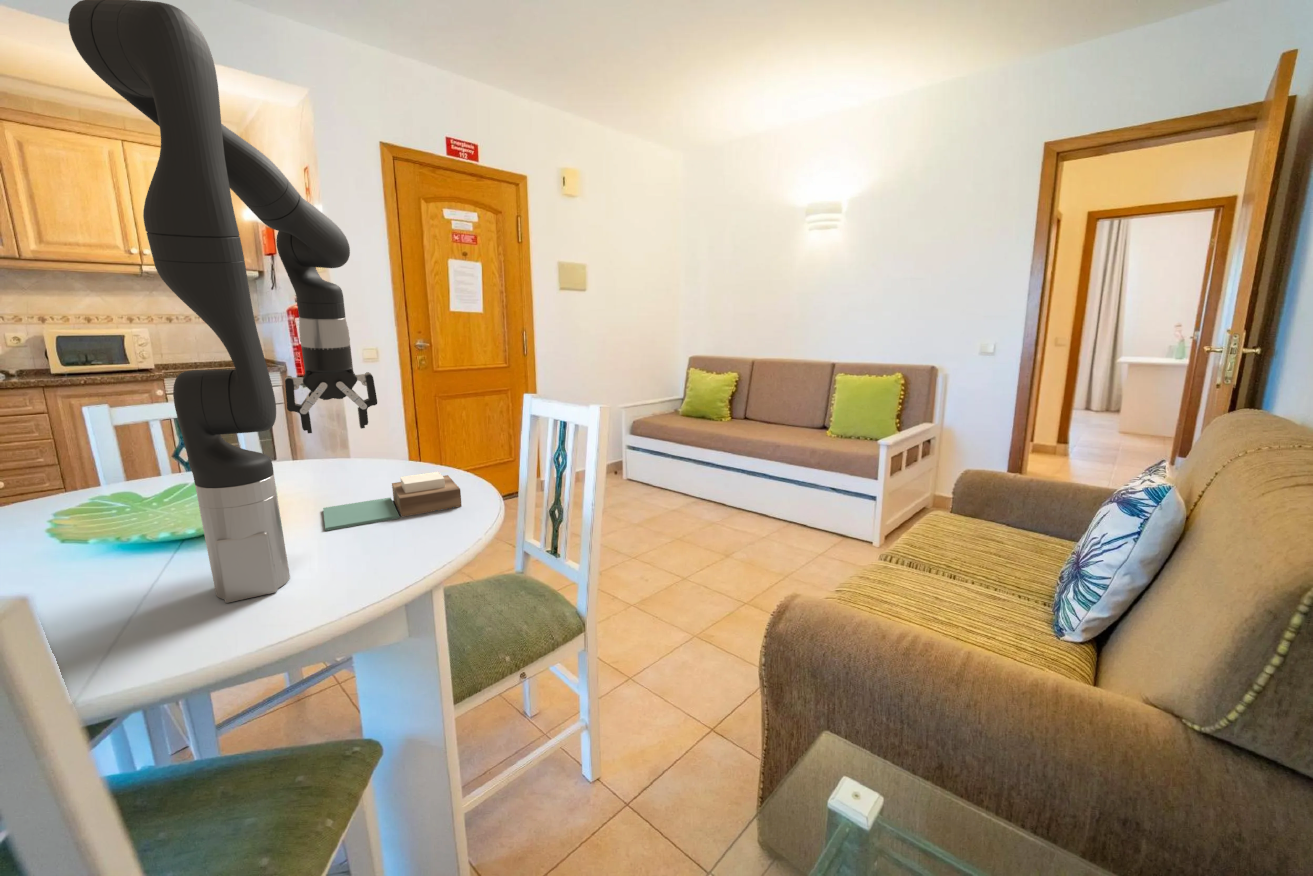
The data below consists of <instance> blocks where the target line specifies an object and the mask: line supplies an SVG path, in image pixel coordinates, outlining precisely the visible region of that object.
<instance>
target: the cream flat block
mask: <svg viewBox="0 0 1313 876" xmlns="http://www.w3.org/2000/svg"><path fill="white" fill-rule="evenodd" d="M443 476H444V475H442V474H441V472H440V471H433V472H427V473H420V474H411V475H405V476H400V477H399V478H400V482H401V486H402V488H403V490H404V491H405V493H410V492H417V491H423V490H430V489H436V488H443V487H445V479H444V477H443Z"/></svg>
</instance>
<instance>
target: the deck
mask: <svg viewBox="0 0 1313 876" xmlns="http://www.w3.org/2000/svg"><path fill="white" fill-rule="evenodd" d="M442 476H443V477H444V479H445V487H443V488H436V489H430V490H423V491H417V492H410V493H405V491H404V490H403V488H402V486H401V481H398V482H397V481H396V482H392V483H391V486H392V487H391V488H392V497H393V503H394V505H395V507H396V509H397V511H398V513H399V514H400V516H401V517H402V518H403V517H408V516H409V517H410V516H415V515H421V514H425V513H430V512H431V513H433V512H436V511H435V510H438V511H442V510H441V509H444V510H448V509H447V508H449V509H453V508H452V507H455V508H458V507H459V508H460V506H461V507H462V495H461V488H460V487H459V486H458V485H457V484H456V483H455V481H454V480H453V479H452V478H451V477H450V476H449V475H448V474H447V475H442Z"/></svg>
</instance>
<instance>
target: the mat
mask: <svg viewBox="0 0 1313 876" xmlns="http://www.w3.org/2000/svg"><path fill="white" fill-rule="evenodd" d="M322 509H323V511H322V512H323V520H324V521H323V522H324V529H325V530H324V531H325V532H328V531H333V530H339V529H345V528H350V527H355V526H362V525H366V524H368V525H369V524H373V523H378V522H379V523H380V522H384V521H391V520H397V519H400V515H399V514H400V513H399V511H398V509H397V507H396V505H395V502H394V500H392V497H391V496H390V497H383V498H378V499H377V498H376V499H369V500H366V501H360V502H352V503H346V504H339V505H332V506H326V507H323V508H322Z"/></svg>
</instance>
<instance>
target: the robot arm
mask: <svg viewBox="0 0 1313 876" xmlns="http://www.w3.org/2000/svg"><path fill="white" fill-rule="evenodd" d="M67 21H68V31H69V34H70V38H71V40H72V42H73V45H74V46H75V49H76V50H77V52H78V54H79V55H80V57H81V58H82V60H83V62H85V64H86V65H87V66H88V67H89V69H90V70H92V72H94V74H96V75H97V77H98V78H100V79H101V80H102V81H103V82H104V83H105V84H106V85H107V86H108V87H110V88H111V89H112V90H113V91H115V92H116V93H117V94H118V95H120V96H121V98H123V99H125V100H126V101H127V102H128V103H130V104H131V105H132V106H134V107H135V108H136V110H139V112H140V113H142V114H143V115H145V116H146V117H147V118H149V120H151V122H153V123H155V124H156V125H157V126H158V127H159V132H160V151H159V156H158V160H157V164H156V166H155V169H154V173H153V176H152V177H151V180H150V185H149V187H148V190H147V194H146V196H145V201H144V205H143V215H142V216H143V223H144V228H145V232H146V237H147V241H148V244H149V248H150V252H151V257H152V260H153V263H154V268H155V269H156V270H155V271H156V272H157V274H158V276H159V277H160V278H161V280H162V281H163V282H164V283H165V285H166V286H167V287H168V288H169V289H170V290H171V291H172V293H174V294H175V295H176V297H178V298H179V299H180V300H181V301H182V302H183V303H184V304H185V305H186V306H187V307H188V308H189V309H191V311H193V312H194V313H195V314H196V316H198V317H199V318H200V319H201V320H202V321H203V322H204V323H205V324H206V325H207V326H208V327H209V328H210V329H211V331H213V332H214V333H215V335H216V336H217V337H218V338H219V340H220V342H221V343H222V344H223V346H224V347H225V349H226V351H227V352H228V356H229V357H230V360H231V361H232V364H233V366H234V368H233V369H232V368H231V369H227V368H226V369H194V370H193V369H191V370H185V371H182V372H180V373H179V374H178V375H177V376H176V378H175V380H174V383H173V389H172V390H173V391H172V396H173V403H174V408H175V413H176V417H177V421H178V424H179V428H180V433H181V436H182V440H183V442H184V446H185V447H184V448H185V451H186V456H187V461H188V464H189V468H190V471H191V473H192V476H193V481H194V486H195V487H194V488H195V491H196V497H197V502H198V503H197V504H198V507H199V513H200V518H201V524H202V529H203V530H202V531H203V535H204V539H205V545H206V550H207V555H208V560H209V564H210V565H209V566H210V571H211V575H212V581H213V586H214V591H215V595H216V597H218V598H219V599H221V600H224V603H225V604H226V603H232V602H237V601H242V600H246V599H252V598H255V597H260V596H266V595H269V594H273V593H276V592H278V589H280V588H281V587H283V586H284V585H286V584H287V582H289V580H290V579H291V574H290V569H289V562H288V557H287V556H288V555H287V550H286V544H285V537H284V532H283V531H284V530H283V526H282V525H283V524H282V517H281V512H280V506H279V498H278V493H277V491H278V490H277V486H276V485H277V484H276V479H275V472H274V465H273V461H272V459H271V457H270V456H268V455H267V454H264V453H262V452H259V451H253V450H250V449H245V448H241V447H239V446H236V445H234V444H232V443H230V442H227V441H226V440H225V439H224V438H223V436H221V435H232V434H235V435H236V434H247V433H248V434H249V433H258V432H259V433H260V432H265V431H266V432H267V431H268V430H270V429H272V428H273V427H274V426H275V422H276V421H277V401H276V396H275V391H274V388H273V384H272V380H271V376H270V373H269V369H268V366H267V361H266V359H265V356H264V351H263V347H262V343H261V340H260V337H259V332H258V329H257V328H258V327H257V325H256V318H255V315H254V310H253V305H252V303H253V302H252V300H251V299H252V298H251V291H250V287H249V278H248V274H247V267H246V262H245V256H244V250H243V245H242V241H241V236H240V232H239V228H238V223H237V220H236V219H237V218H236V214H235V211H234V205H233V198H232V194H231V191H233V193H234V194H235V195H236V196H237V197H238V199H240V200H241V201H242V202H243V204H245V206H247V208H248V209H249V210H250V211H251V212H252V213H253V214H254V215H255V216H256V217H257V218H258V219H259V220H260V222H261V223H263V224H264V225H266V226H267V227H268V228H270V229H272V230H274V231H277V235H276V239H275V240H276V242H275V244H276V250H277V253H278V255H279V258H280V261H281V262H282V266H283V267H284V270H285V272H286V274H287V276H288V280H289V281H290V284H291V285H292V288H293V290H294V293H295V296H296V306H297V312H298V313H297V314H298V320H299V321H298V322H299V323H298V331H299V342H300V345H301V347H300V348H301V354H302V359H303V367H304V375H303V376H302V377H300V376H299V377H298V376H297V377H294V376H292V375H286V376H285V378H284V385H285V386H284V387H285V398H286V408H287V411H288V412H293V413H294V412H295V413H298V414H299V415H300V421H301V428H302V430H303V432H304V431H307V434H313V431H312V422H311V415H310V410H311V408H312V407H313V406H314V405H315V403H316V402H317V401H318V400H319V399H321V400H323V401H328V400H333V399H334V400H335V399H337V400H343V399H344V398H346V397H348V398H349V399H350V400H351V401H352V402H353V403H354V404H356V405H357V406H358V407H357V415H358V424H359V428H360V429H366V427H365V426H368V424H369V417H368V415H369V414H368V408H371V407H372V406H377V405H378V398H377V392H376V387H375V380H374V376H373V374H372V373H371V372H368V371H367V372H365V373H360V374H356V373H355V371H354V368H353V367H354V366H353V365H354V364H353V357H352V349H351V338H350V330H349V327H348V322H347V318H346V309H345V308H346V307H345V299H344V293H343V290H342V288H341V286H340V285H338V284H336V283H333V282H329V281H326V280H324V279H323V278H322V277H321V275H320V274H319V271H318V270H317V268H322V269H323V268H324V269H338V268H341V267H343V266H344V265H346V263H347V262H348V261H349V258H350V255H351V249H350V248H351V247H350V244H349V241H348V239H347V236H346V235H345V233H344V232H343V231H342V229H341V228H340V227H339V226H338V225H337V223H335V222H334V221H333V220H332V219H331V218H329V217H328V216H327V215H326V214H324V213H323V212H322V211H320V210H319V209H318V208H317V207H316V206H315V205H313V204H312V203H310V202H308V201H307V200H306V199H305V198H303V196H302V195H301V194H300V193H299V192H298V190H297V189H296V188H295V187H294V186H293V184H292V183H291V182H290V180H289V179H288V178H287V177H286V176H285V174H284V173H283V172H282V171H281V169H279V167H278V166H277V165H276V164H275V163H274V162H273V161H272V159H270V158H269V157H267V156H266V154H264V153H263V152H261V151H260V150H259V149H257V148H256V147H255V146H253V145H252V144H251V143H249V142H248V141H246V140H245V139H244V138H242V137H241V136H239V135H238V134H236V133H235V132H234V131H232V130H231V129H230V128H228V127H226V125H224V124H222V117H221V116H222V115H221V106H220V105H221V103H220V92H219V83H218V75H217V71H216V67H215V62H214V59H213V55H212V51H211V49H210V46H209V44H208V42H207V40H206V38H205V36H204V35H203V32H202V31H201V30H200V28H199V26H198V25H197V24H196V23H195V21H194V20H193V19H192V18H191V16H189V14H187V13H186V12H184V11H183V10H182V9H180V8H179V7H176V6H174V5H173V4H170V3H166V2H163V1H162V2H161V1H153V0H79V1H77V3H75V4H74V5H73V6H72V7H71V9H70V11H69V13H68V19H67ZM357 382H360V383H361V385H362V386H364V387H365V388H366V392H367V397H368V398H366V399H363V398H362V397H361V396H360V395H359V394H357V392H356V391H354V389H353V388H354V386H355V385H356V384H357ZM302 384H303V385H304V386H305V387H306V388H307V389H308V390H309V392H308V394H307V395H306V397H305V398H304V400H303V401H302V403H301V404H300V403H296V398H295V391H297V390H299V389H300V386H301V385H302Z"/></svg>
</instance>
